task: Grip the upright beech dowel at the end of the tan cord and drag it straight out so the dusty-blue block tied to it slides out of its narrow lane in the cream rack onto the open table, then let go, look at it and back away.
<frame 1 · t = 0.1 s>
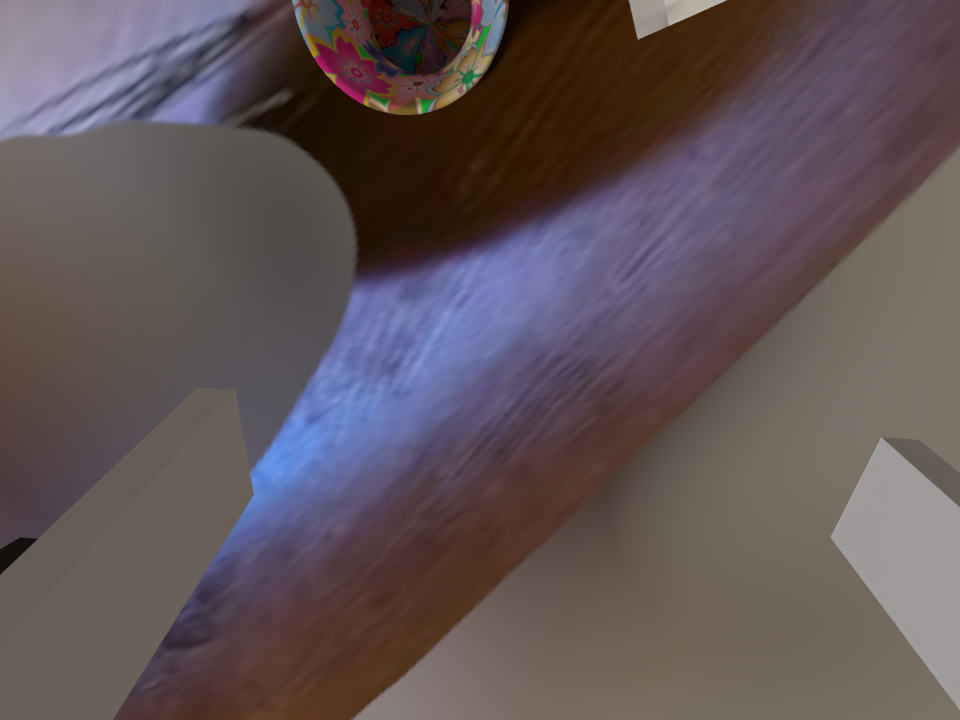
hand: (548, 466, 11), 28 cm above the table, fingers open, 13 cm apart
mug: (410, 13, 31), on the table
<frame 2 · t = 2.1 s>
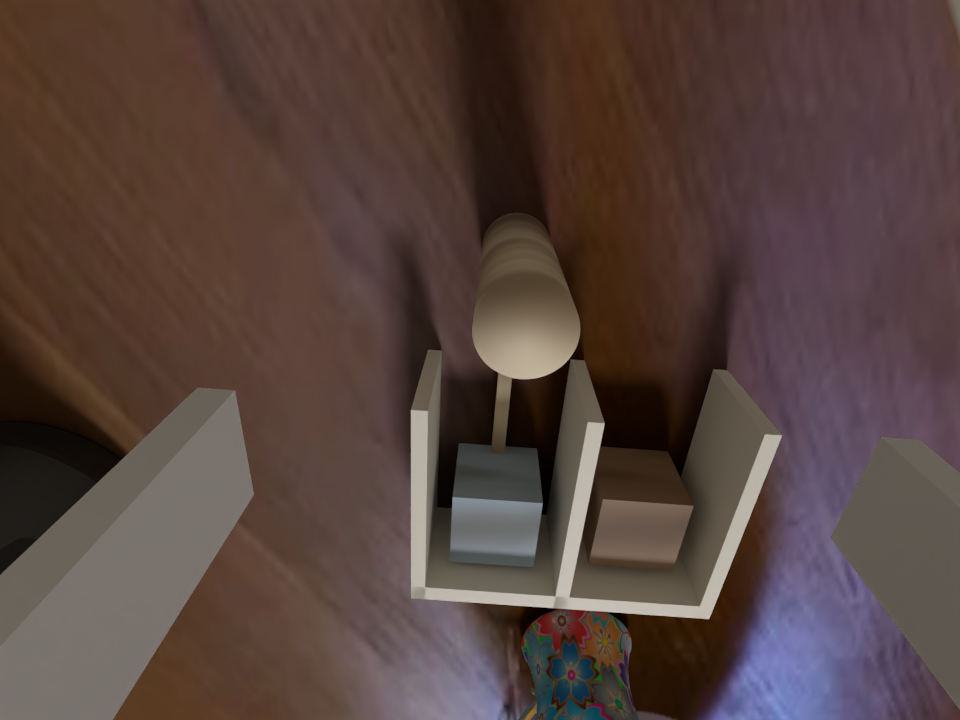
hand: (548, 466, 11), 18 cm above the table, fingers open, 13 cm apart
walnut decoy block: (620, 478, 34), resting in lane rack
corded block: (495, 476, 34), on the table
mug: (559, 638, 41), on the table
lane rack: (562, 450, 33), on the table
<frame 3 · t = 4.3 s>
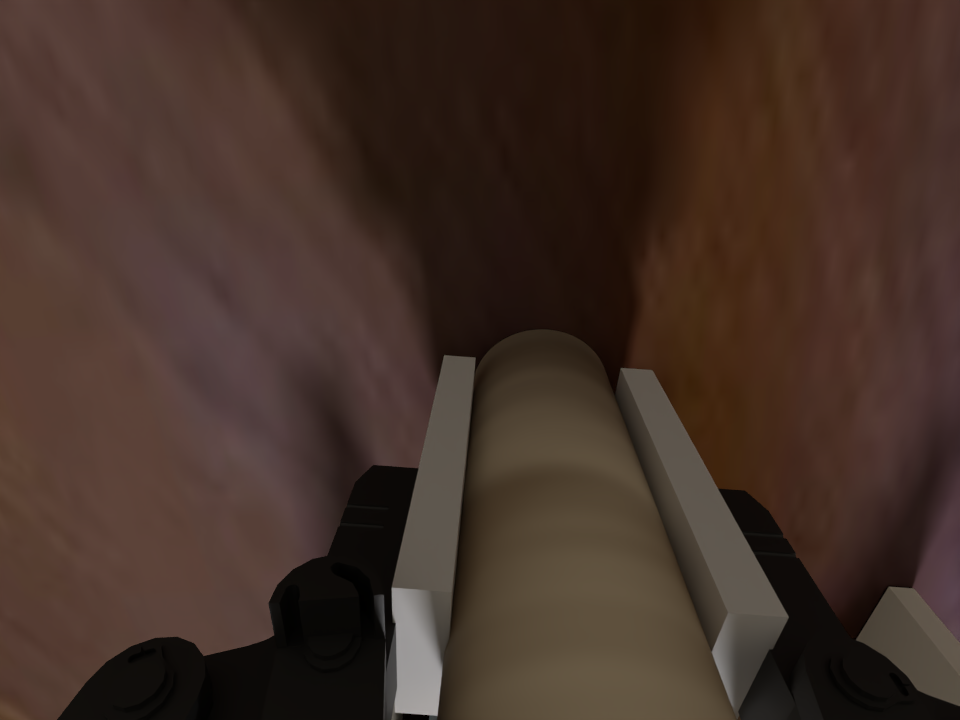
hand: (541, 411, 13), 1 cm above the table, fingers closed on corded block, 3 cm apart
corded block: (494, 717, 21), on the table, touching gripper
lane rack: (608, 688, 20), on the table
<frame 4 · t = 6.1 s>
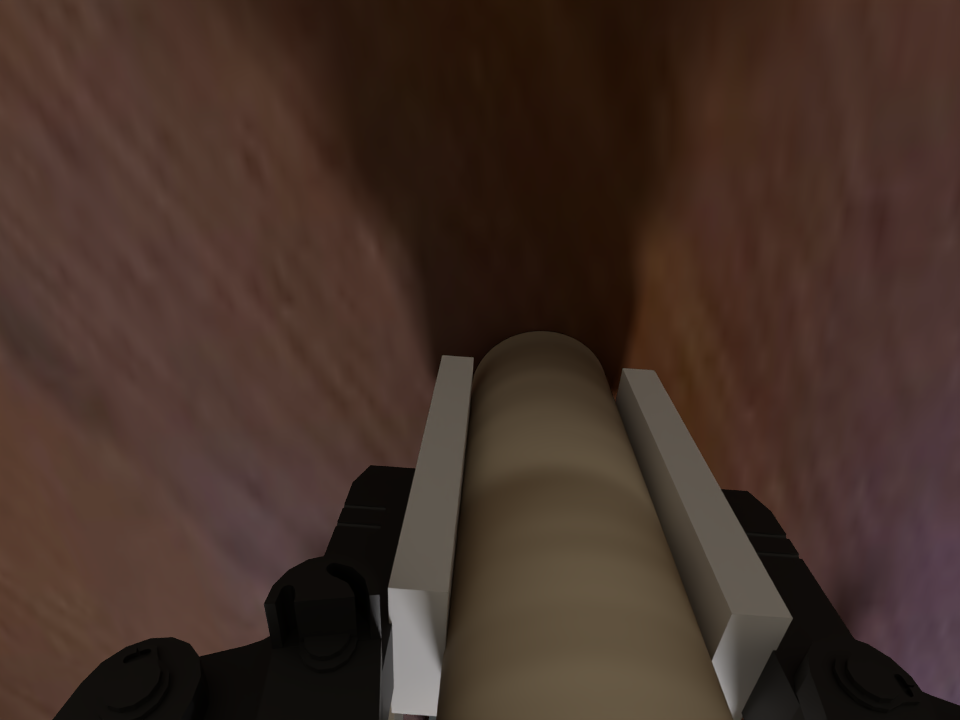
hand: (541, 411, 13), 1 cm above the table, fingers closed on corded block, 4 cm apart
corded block: (494, 718, 21), on the table, touching gripper
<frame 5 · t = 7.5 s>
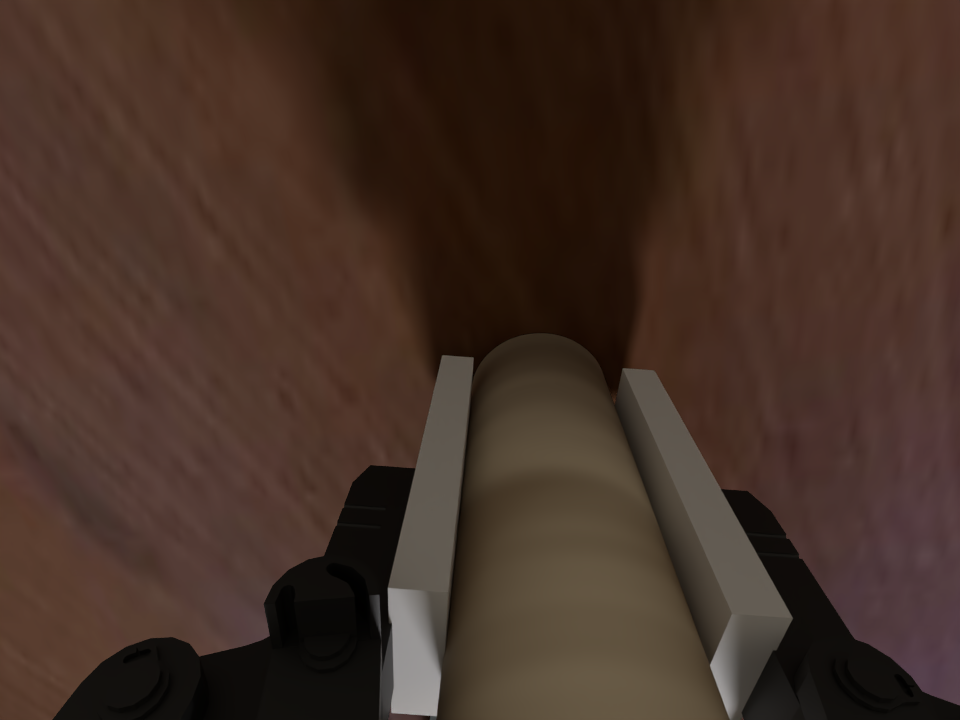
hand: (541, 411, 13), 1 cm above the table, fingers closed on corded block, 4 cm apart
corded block: (495, 717, 21), on the table, touching gripper
when the fingers open (1 cm above the table, at t = 7.8 s): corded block stays where it is, on the table.
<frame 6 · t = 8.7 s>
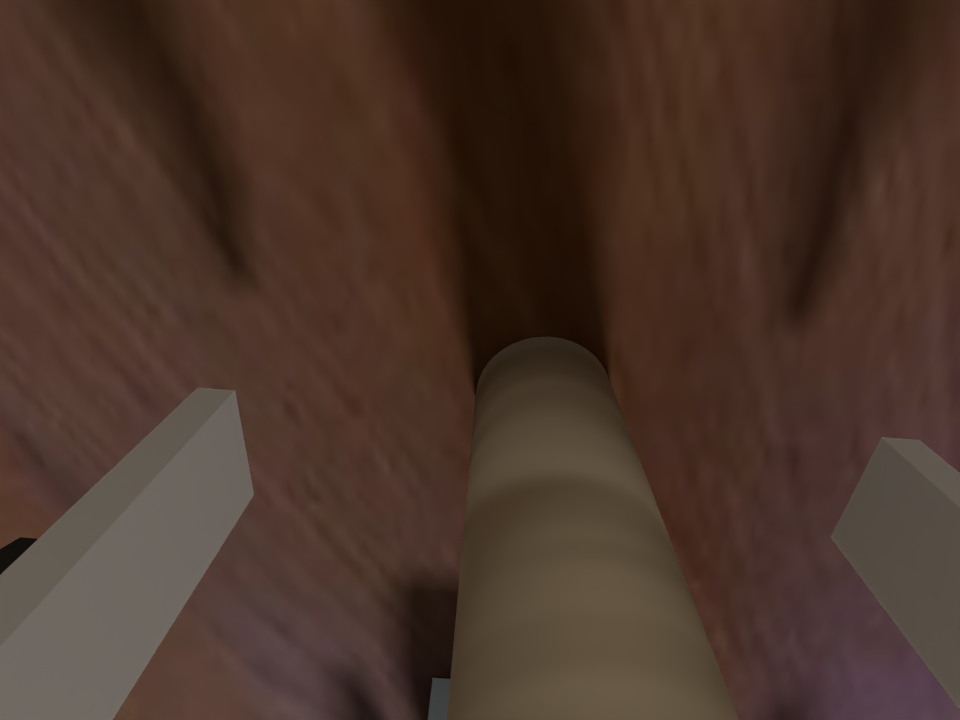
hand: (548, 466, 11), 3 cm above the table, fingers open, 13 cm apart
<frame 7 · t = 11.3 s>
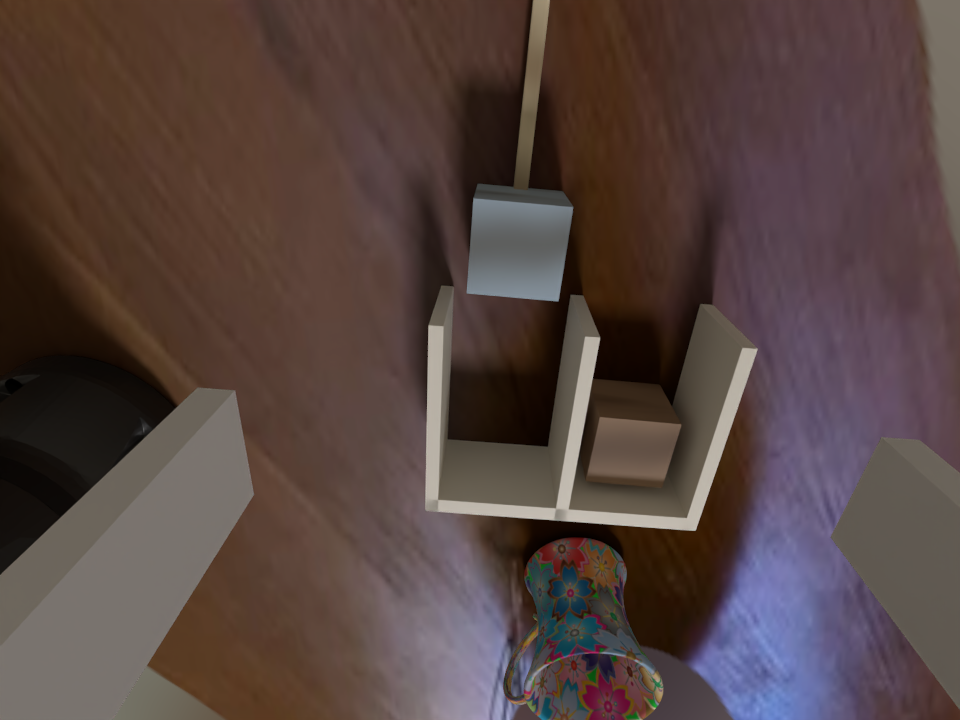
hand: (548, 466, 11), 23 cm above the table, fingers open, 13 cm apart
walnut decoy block: (616, 411, 37), resting in lane rack
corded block: (515, 230, 31), on the table
mug: (560, 570, 45), on the table
lane rack: (563, 383, 36), on the table
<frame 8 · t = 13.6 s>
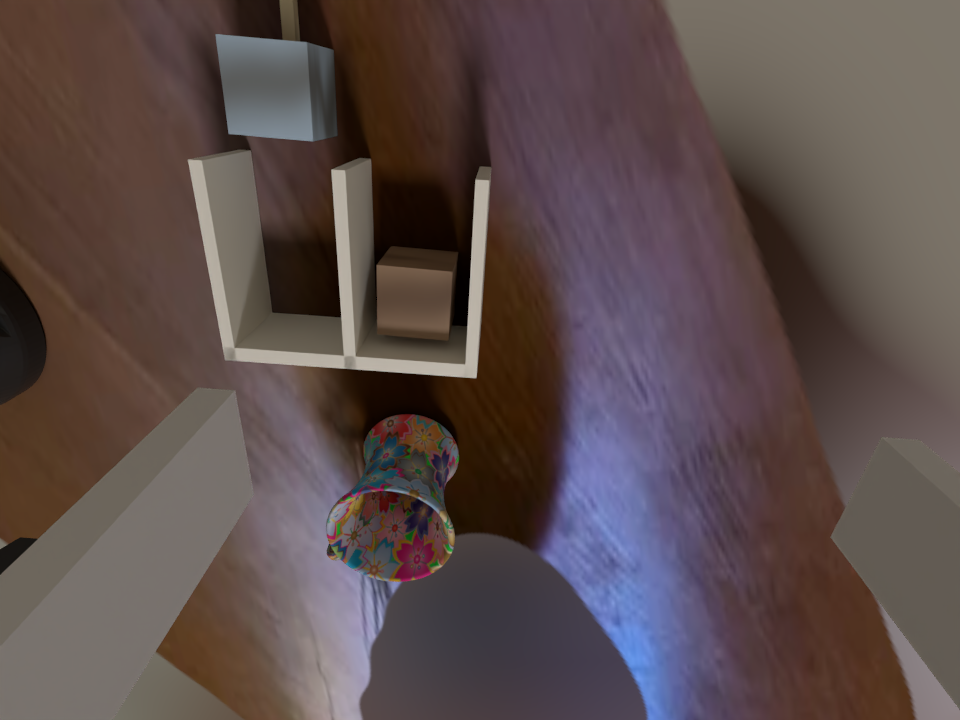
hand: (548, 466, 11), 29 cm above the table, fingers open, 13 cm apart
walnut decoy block: (423, 280, 39), resting in lane rack
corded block: (297, 91, 34), on the table
mug: (402, 454, 47), on the table
lane rack: (368, 251, 38), on the table
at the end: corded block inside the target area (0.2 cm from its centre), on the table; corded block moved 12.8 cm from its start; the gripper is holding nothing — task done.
